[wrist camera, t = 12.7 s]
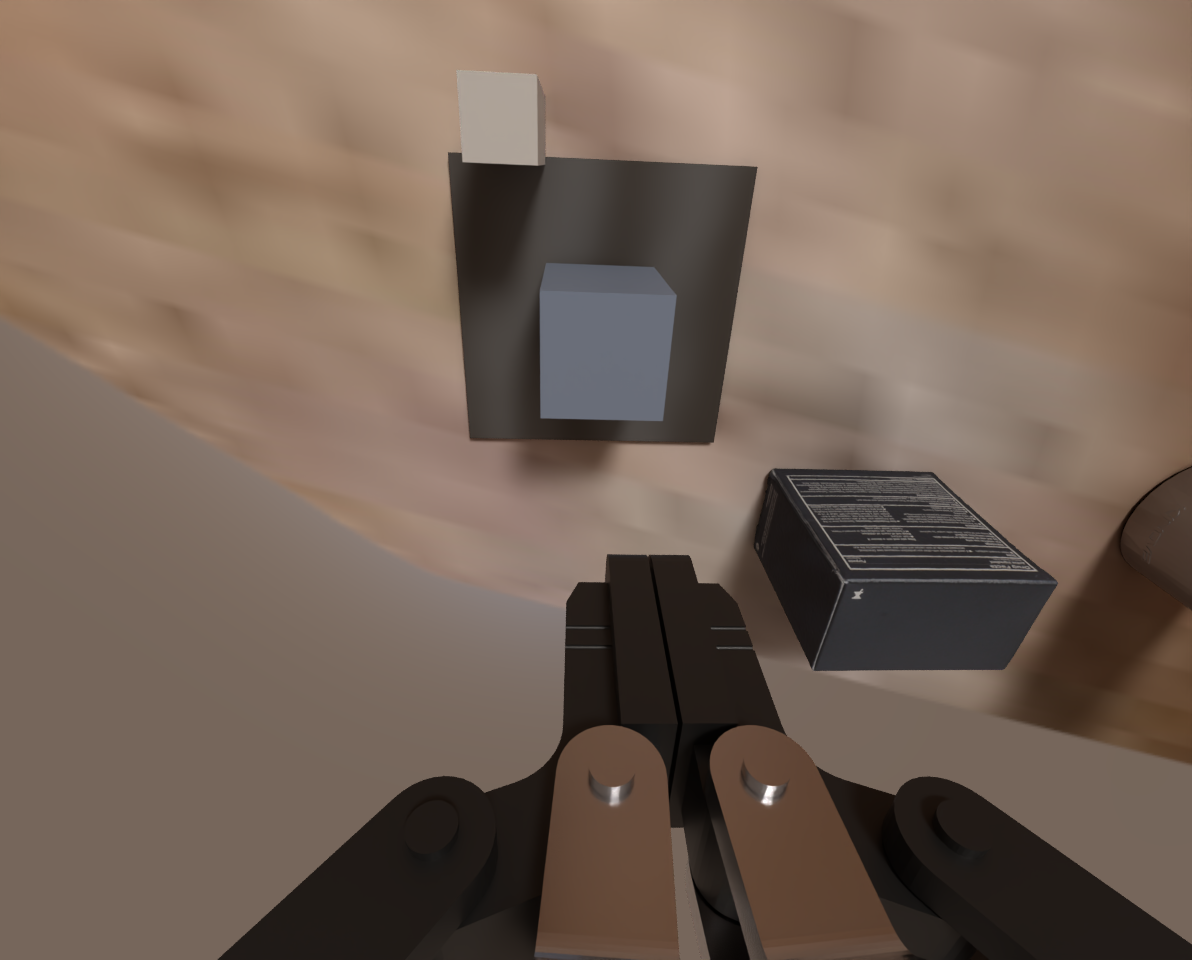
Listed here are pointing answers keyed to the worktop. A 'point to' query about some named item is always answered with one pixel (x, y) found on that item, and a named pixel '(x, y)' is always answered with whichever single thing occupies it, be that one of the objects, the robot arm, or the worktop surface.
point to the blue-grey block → (604, 342)
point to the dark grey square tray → (595, 237)
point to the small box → (894, 572)
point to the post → (501, 118)
